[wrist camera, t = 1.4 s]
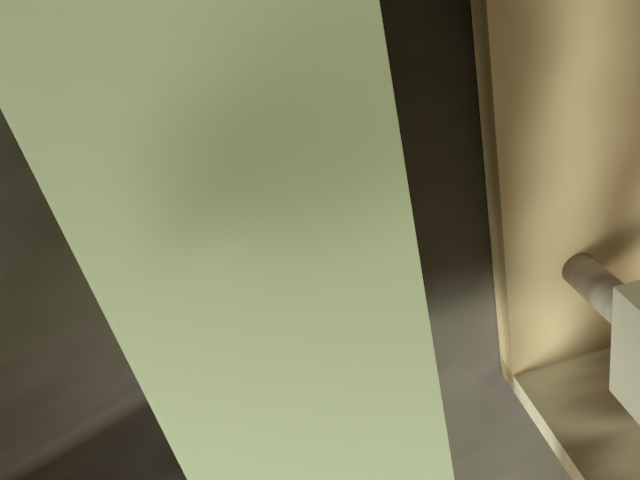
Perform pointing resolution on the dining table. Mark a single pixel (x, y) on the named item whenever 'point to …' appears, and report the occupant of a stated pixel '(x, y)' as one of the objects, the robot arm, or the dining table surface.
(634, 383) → the robot arm
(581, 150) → the shelf stand
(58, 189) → the shelf board
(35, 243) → the dining table surface
